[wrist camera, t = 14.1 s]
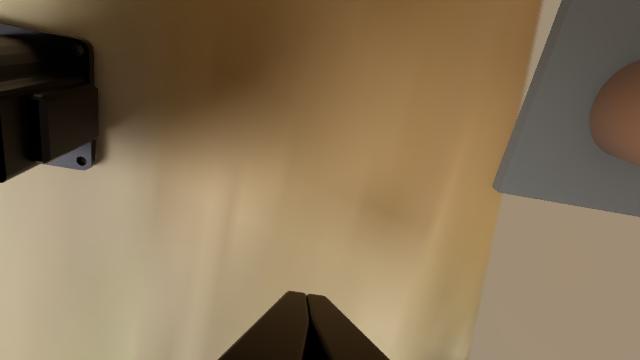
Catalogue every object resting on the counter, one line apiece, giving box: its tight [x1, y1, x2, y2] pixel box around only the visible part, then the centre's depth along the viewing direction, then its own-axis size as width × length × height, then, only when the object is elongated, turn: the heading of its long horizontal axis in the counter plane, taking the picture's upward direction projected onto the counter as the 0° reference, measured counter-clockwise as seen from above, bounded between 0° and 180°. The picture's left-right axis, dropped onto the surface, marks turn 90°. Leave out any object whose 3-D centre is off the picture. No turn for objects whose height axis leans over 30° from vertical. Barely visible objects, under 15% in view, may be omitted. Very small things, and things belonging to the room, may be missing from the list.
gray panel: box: [492, 0, 640, 217], centre depth 20 cm, size 11×11×1 cm
